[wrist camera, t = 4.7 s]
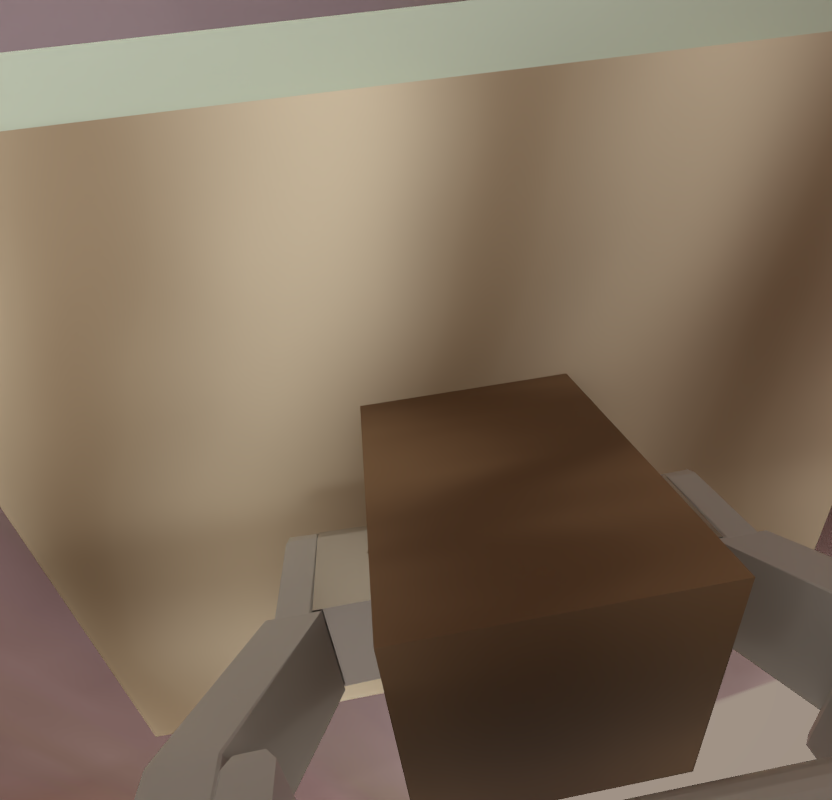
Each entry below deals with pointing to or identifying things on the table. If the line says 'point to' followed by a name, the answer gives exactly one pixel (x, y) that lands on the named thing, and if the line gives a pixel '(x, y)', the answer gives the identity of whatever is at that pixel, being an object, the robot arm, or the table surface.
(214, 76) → the mat
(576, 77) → the lid
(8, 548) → the table surface
